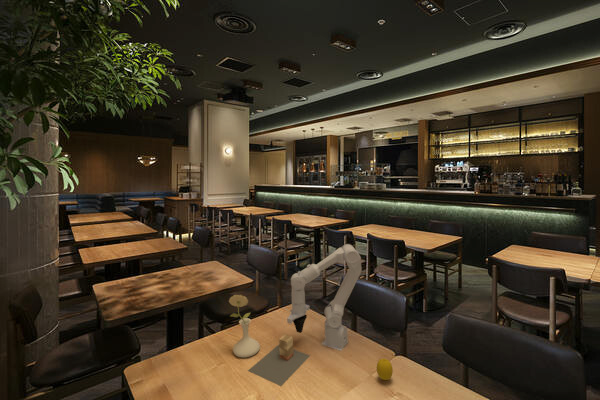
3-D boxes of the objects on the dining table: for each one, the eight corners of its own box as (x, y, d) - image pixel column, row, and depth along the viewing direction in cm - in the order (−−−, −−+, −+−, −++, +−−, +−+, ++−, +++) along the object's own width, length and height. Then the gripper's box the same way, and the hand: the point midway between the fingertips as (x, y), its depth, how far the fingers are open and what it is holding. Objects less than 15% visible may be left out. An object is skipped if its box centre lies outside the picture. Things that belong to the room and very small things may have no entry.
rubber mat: (310, 356, 120) (310, 355, 120) (281, 387, 103) (281, 386, 103) (279, 345, 129) (279, 344, 129) (247, 371, 112) (247, 370, 112)
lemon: (374, 375, 108) (374, 354, 107) (389, 373, 108) (389, 353, 107) (379, 386, 102) (379, 364, 101) (395, 384, 103) (395, 363, 102)
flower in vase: (264, 346, 128) (261, 291, 126) (252, 362, 118) (248, 302, 115) (238, 341, 133) (235, 288, 130) (224, 357, 122) (220, 299, 119)
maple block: (293, 355, 120) (292, 337, 120) (287, 360, 117) (287, 341, 116) (285, 352, 123) (284, 334, 122) (279, 357, 119) (278, 339, 118)
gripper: (299, 293, 134) (300, 321, 136) (280, 306, 122) (282, 337, 124) (313, 296, 131) (313, 325, 132) (294, 310, 118) (295, 342, 120)
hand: (299, 331), depth 127 cm, fingers closed
